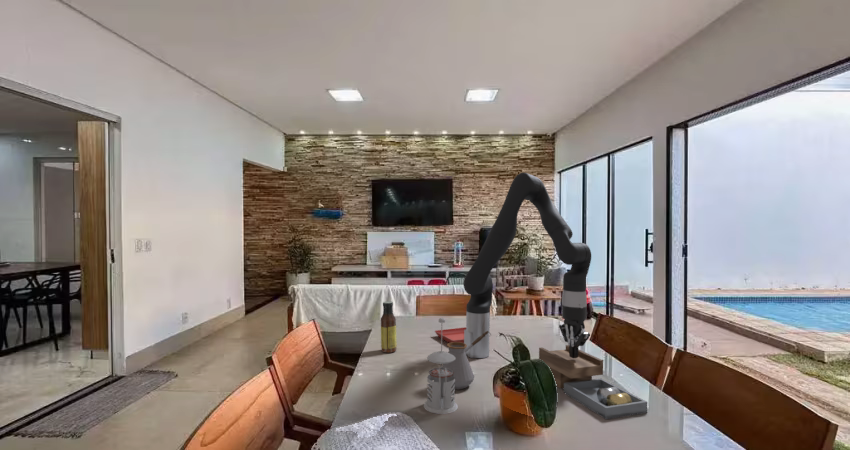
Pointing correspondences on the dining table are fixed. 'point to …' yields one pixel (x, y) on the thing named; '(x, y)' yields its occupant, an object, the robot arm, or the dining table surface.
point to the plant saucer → (452, 334)
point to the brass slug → (618, 399)
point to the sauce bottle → (388, 328)
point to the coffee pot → (461, 363)
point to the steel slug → (606, 393)
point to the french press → (441, 383)
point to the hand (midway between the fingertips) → (573, 357)
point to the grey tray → (588, 397)
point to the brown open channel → (571, 365)
